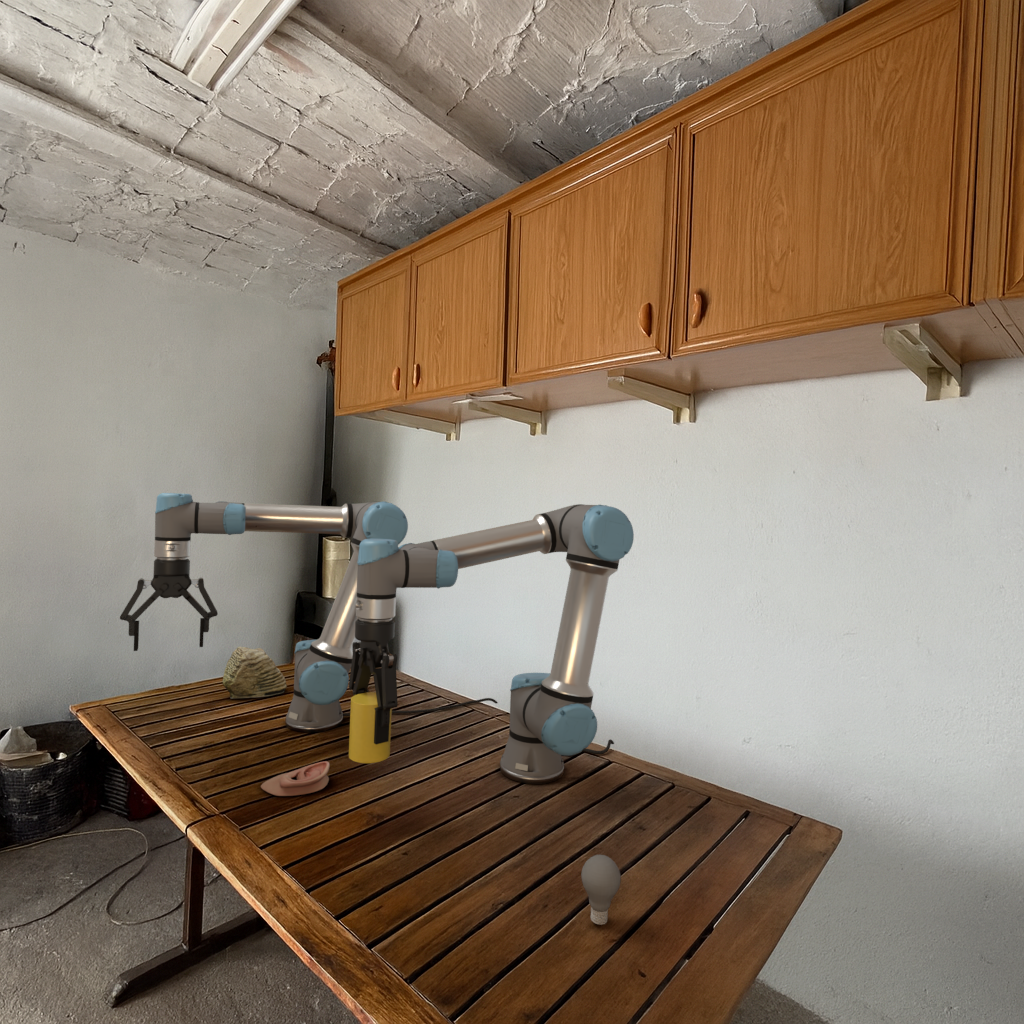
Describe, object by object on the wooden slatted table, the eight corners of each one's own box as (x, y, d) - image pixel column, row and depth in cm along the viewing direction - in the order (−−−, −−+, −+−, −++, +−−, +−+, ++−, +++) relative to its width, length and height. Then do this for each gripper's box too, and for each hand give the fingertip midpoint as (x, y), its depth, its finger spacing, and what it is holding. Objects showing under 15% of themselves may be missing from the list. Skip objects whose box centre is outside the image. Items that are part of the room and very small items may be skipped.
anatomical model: (253, 773, 134) (283, 753, 145) (252, 792, 134) (282, 770, 145) (310, 782, 131) (336, 760, 142) (309, 801, 131) (335, 777, 143)
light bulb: (576, 909, 100) (578, 846, 100) (613, 909, 101) (616, 846, 100) (583, 935, 94) (586, 869, 94) (622, 935, 95) (626, 868, 94)
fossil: (218, 695, 195) (220, 647, 195) (278, 685, 208) (279, 640, 207) (228, 703, 189) (230, 653, 188) (289, 692, 201) (290, 645, 201)
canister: (366, 744, 128) (368, 689, 128) (397, 752, 125) (400, 696, 125) (339, 757, 121) (342, 699, 121) (372, 766, 118) (374, 707, 118)
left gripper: (108, 560, 141) (105, 655, 141) (230, 559, 152) (227, 647, 152) (111, 556, 147) (109, 647, 148) (229, 556, 159) (226, 640, 159)
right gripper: (334, 611, 128) (329, 723, 129) (384, 630, 112) (379, 757, 113) (367, 608, 133) (363, 716, 133) (420, 626, 117) (415, 748, 118)
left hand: (169, 647), depth 150 cm, fingers open, 13 cm apart
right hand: (370, 735), depth 123 cm, fingers closed on canister, 8 cm apart
